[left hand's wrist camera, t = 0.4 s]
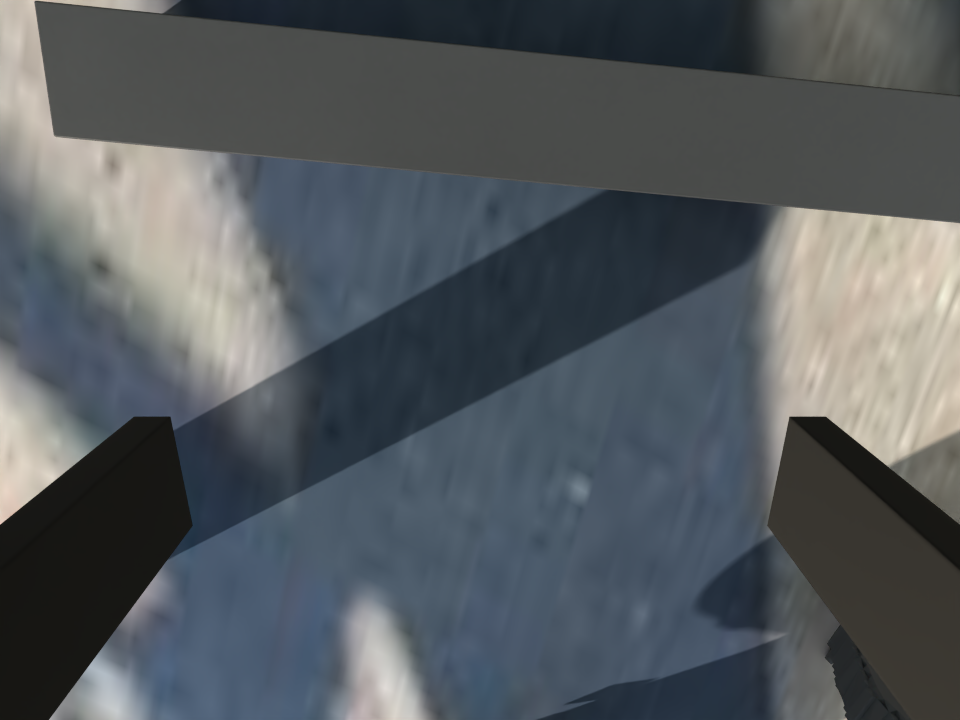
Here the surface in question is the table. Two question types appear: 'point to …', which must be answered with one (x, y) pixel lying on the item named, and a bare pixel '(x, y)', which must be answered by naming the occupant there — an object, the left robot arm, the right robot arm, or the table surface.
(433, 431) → the table surface
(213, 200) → the table surface
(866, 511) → the left robot arm
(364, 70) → the beam
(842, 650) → the toy
